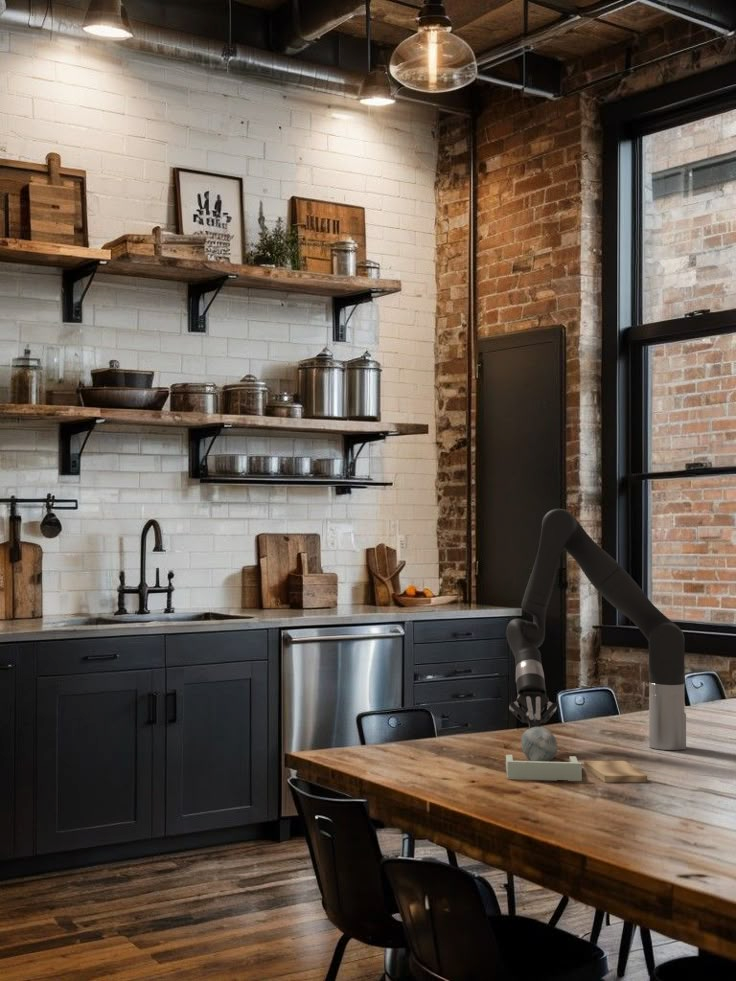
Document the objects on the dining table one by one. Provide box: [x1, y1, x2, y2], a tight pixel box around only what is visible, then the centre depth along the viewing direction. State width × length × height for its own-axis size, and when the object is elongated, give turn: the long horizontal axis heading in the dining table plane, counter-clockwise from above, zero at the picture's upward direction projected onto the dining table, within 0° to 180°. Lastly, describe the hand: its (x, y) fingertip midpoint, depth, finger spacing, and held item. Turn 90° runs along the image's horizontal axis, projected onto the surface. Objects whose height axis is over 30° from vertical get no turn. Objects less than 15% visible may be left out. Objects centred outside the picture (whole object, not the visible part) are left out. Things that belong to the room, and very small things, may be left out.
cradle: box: [505, 754, 583, 782], centre depth 288 cm, size 17×18×4 cm
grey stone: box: [520, 726, 558, 762], centre depth 303 cm, size 14×10×10 cm
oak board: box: [583, 760, 648, 783], centre depth 286 cm, size 10×18×2 cm, turn 5°
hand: (535, 734), depth 310 cm, fingers closed
